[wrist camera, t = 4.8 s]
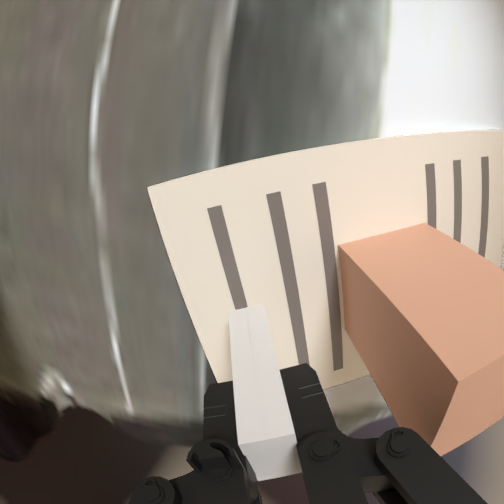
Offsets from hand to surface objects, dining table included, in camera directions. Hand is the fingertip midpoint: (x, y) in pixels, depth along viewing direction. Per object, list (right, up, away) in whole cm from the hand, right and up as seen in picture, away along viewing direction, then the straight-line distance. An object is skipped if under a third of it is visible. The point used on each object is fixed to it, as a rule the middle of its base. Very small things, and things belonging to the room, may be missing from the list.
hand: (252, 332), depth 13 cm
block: (+7, +2, +2) cm, 7 cm away
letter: (+7, +2, +2) cm, 7 cm away
